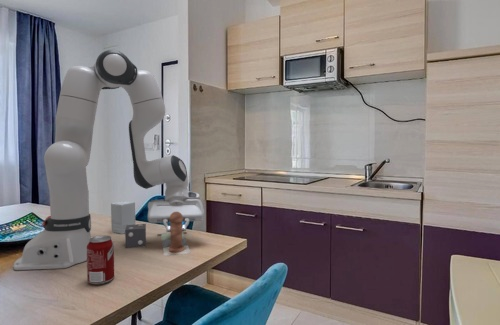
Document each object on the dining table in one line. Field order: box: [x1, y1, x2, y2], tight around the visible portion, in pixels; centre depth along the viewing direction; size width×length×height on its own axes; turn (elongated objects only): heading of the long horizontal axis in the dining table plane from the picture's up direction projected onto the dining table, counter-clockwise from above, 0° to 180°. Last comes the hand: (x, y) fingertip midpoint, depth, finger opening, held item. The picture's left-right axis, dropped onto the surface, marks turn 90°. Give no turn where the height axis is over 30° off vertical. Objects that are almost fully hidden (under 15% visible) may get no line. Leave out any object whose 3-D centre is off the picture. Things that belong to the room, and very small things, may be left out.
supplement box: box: [110, 200, 136, 235], centre depth 135 cm, size 7×7×13 cm
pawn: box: [169, 212, 184, 253], centre depth 110 cm, size 5×5×14 cm
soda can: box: [86, 235, 115, 286], centre depth 85 cm, size 7×7×12 cm
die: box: [124, 223, 147, 249], centre depth 116 cm, size 7×7×7 cm
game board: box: [156, 231, 192, 257], centre depth 119 cm, size 12×28×1 cm, turn 18°
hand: (176, 231), depth 109 cm, fingers closed on pawn, 4 cm apart
